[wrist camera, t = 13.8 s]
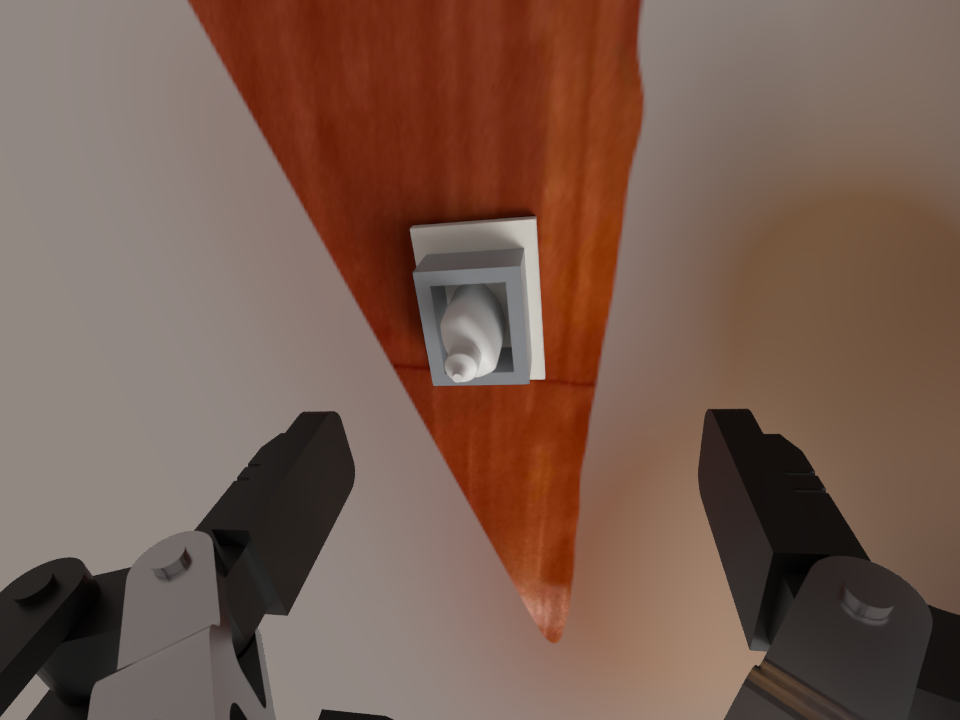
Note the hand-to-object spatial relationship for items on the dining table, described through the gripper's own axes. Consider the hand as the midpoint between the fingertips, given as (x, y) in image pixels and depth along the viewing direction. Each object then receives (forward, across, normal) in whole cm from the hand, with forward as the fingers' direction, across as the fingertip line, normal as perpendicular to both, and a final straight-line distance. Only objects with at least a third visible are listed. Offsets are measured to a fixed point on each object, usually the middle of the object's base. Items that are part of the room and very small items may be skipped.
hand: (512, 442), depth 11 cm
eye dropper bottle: (+32, +6, +10) cm, 35 cm away
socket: (+33, +6, +10) cm, 35 cm away
